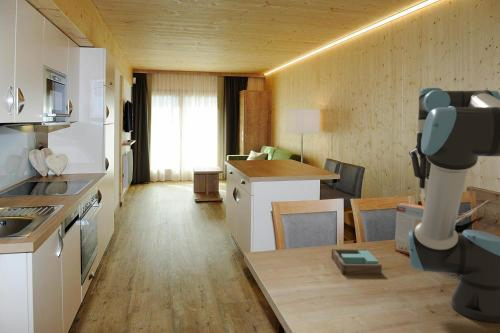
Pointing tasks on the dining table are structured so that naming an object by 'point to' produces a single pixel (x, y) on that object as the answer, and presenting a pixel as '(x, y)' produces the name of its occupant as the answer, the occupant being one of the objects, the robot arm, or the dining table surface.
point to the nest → (354, 268)
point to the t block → (359, 258)
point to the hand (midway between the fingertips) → (424, 197)
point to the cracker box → (406, 224)
